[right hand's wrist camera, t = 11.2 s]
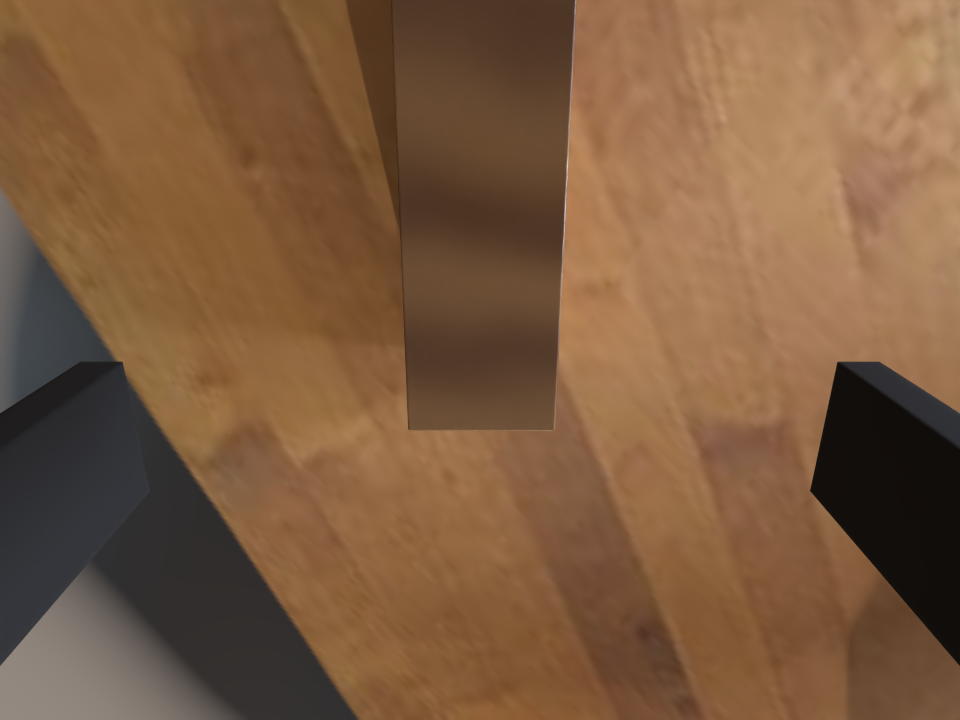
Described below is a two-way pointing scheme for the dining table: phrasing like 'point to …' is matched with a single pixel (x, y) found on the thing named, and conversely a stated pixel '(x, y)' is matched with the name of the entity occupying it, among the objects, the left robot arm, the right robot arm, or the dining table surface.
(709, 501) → the dining table surface
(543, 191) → the bar
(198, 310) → the dining table surface
